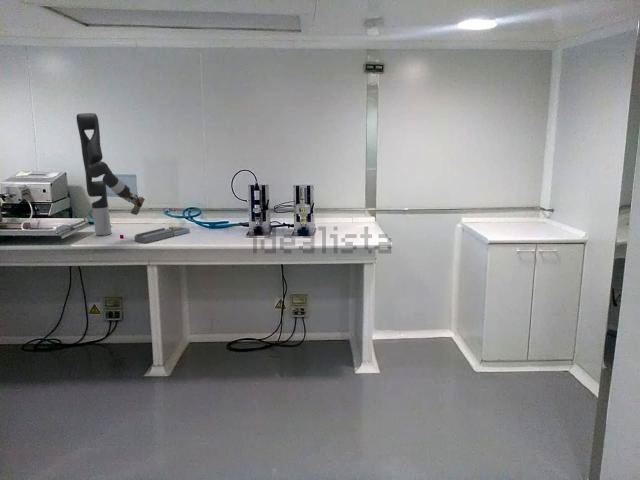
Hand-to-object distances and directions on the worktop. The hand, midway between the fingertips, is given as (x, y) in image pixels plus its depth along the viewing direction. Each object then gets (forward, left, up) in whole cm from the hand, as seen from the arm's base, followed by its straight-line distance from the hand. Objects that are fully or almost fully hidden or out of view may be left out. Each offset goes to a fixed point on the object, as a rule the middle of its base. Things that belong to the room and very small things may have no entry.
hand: (139, 205), depth 296 cm
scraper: (+3, -4, -4) cm, 6 cm away
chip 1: (+2, +17, -17) cm, 24 cm away
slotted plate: (+9, +6, -19) cm, 22 cm away
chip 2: (-1, +21, -16) cm, 26 cm away
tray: (0, +20, -19) cm, 27 cm away
